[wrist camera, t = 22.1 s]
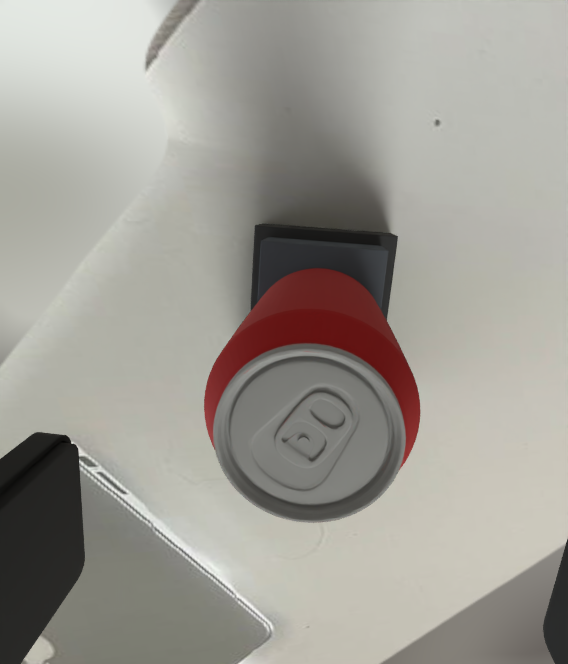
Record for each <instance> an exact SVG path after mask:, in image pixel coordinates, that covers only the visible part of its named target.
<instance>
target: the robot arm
mask: <svg viewBox="0 0 568 664" xmlns="http://www.w3.org/2000/svg"><path fill="white" fill-rule="evenodd" d="M84 561H85V552H84V535H83V519H82V503H81V486H80V470H79V453H78V448H77V446H76V445H75V444H71V441H70V439H69V437H68V436H66V435H59V434H50V433H42V432H36V433H34V434H32V435H31V436H30V437H28V438H27V439H26V440H24V441H23V442H22V443H21V444H19V445H18V446H17V447H15V448H14V449H13V450H11V451H10V452H9V453H8V454H6V455H5V456H4V457H2V458H1V459H0V664H21V662H22V661H23V659H24V658H25V656H26V655H27V653H28V652H29V651H30V649H31V648H32V646H33V645H34V643H35V642H36V640H37V639H38V637H39V636H40V634H41V633H42V631H43V630H44V628H45V627H46V626H47V624H48V623H49V621H50V620H51V618H52V617H53V615H54V614H55V612H56V611H57V609H58V608H59V606H60V605H61V603H62V602H63V601H64V599H65V598H66V596H67V595H68V593H69V592H70V590H71V589H72V587H73V586H74V584H75V583H76V581H77V580H78V578H79V576H80V574H81V572H82V569H83V566H84ZM543 630H544V638H545V642H546V645H547V647H548V650H549V652H550V654H551V656H552V658H553V660H554V662H555V664H568V539H567V543H566V546H565V550H564V553H563V557H562V561H561V564H560V567H559V571H558V574H557V578H556V581H555V585H554V588H553V592H552V595H551V599H550V602H549V606H548V609H547V613H546V616H545V620H544V625H543Z"/></svg>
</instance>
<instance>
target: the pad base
mask: <svg viewBox="0 0 568 664" xmlns="http://www.w3.org/2000/svg"><path fill="white" fill-rule="evenodd" d="M268 237H275V238H288V239H301V240H314V241H327V242H340V243H352V244H365V245H378V246H382V247H384V248H385V249H387V250H388V259H387V267H386V274H385V282H384V290H383V298H382V306H381V311H382V313H383V315H384V317H385V319H386V321H387V314H388V307H389V299H390V292H391V284H392V277H393V269H394V262H395V254H396V247H397V239H398V236H396V235H393V234H391V233H380V232H367V231H354V230H341V229H328V228H315V227H301V226H288V225H275V224H259V225H255V235H254V254H253V273H252V293H251V310H252V309H253V308H254V306H255V305H256V304H257V301H258V283H259V266H260V248H261V241H262V240H264V239H266V238H268Z"/></svg>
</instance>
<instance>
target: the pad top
mask: <svg viewBox="0 0 568 664" xmlns="http://www.w3.org/2000/svg"><path fill="white" fill-rule="evenodd" d="M387 259H388V250H387V249H385V248H384V247H382V246H378V245H365V244H352V243H340V242H327V241H314V240H301V239H288V238H275V237H268V238H266V239H264V240H262V241H261V248H260V266H259V283H258V301H259V300H260V299H261V298H262V296H263V295H264V294H265V293H266V292H267V291H268V289H269V288H270V287H271V286H272V285H274V284H275V283H276V282H277V281H279V280H280V279H282V278H283V277H285V276H287V275H289V274H291V273H294V272H297V271H300V270H305V269H312V268H323V269H330V270H335V271H338V272H341V273H344V274H346V275H348V276H350V277H352V278H354V279H355V280H356V281H358V282H359V283H360V284H362V285H363V286H364V287H365V288H366V289H367V290H368V291H369V293H370V294H371V295H372V296H373V298H374V299H375V301H376V303H377V305H378V306H379V308H380V310H381V306H382V298H383V290H384V282H385V274H386V267H387ZM258 301H257V303H258Z"/></svg>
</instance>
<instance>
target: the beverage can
mask: <svg viewBox="0 0 568 664" xmlns="http://www.w3.org/2000/svg"><path fill="white" fill-rule="evenodd" d="M204 411H205V420H206V426H207V430H208V434H209V437H210V439H211V442H212V445H213V447H214V449H215V451H216V455H217V458H218V461H219V463H220V466H221V468H222V470H223V472H224V474H225V475H226V477H227V478H228V480H229V481H230V483H231V484H232V485H233V486H234V488H235V489H236V490H237V491H238V492H239V493H240V494H241V495H242V496H243V497H244V498H245V499H247V500H248V501H249V502H251V503H252V504H253V505H255V506H256V507H258V508H260V509H262V510H263V511H265V512H267V513H270V514H272V515H274V516H277V517H280V518H283V519H287V520H292V521H297V522H308V523H319V522H328V521H334V520H338V519H342V518H345V517H348V516H351V515H353V514H355V513H357V512H359V511H361V510H363V509H365V508H366V507H368V506H369V505H371V504H372V503H373V502H375V501H376V500H377V499H378V498H379V497H380V496H381V495H382V494H383V493H384V492H385V491H386V490H387V489H388V487H389V486H390V485H391V483H392V482H393V481H394V479H395V477H396V475H397V473H398V471H399V470H400V468H401V467H402V466H403V464H404V463H405V461H406V459H407V458H408V456H409V454H410V452H411V450H412V448H413V445H414V442H415V440H416V437H417V433H418V428H419V422H420V400H419V393H418V389H417V385H416V382H415V379H414V376H413V374H412V372H411V369H410V367H409V365H408V363H407V361H406V359H405V357H404V354H403V352H402V350H401V348H400V346H399V344H398V342H397V340H396V338H395V336H394V334H393V332H392V330H391V328H390V326H389V324H388V322H387V321H386V319H385V317H384V315H383V313H382V311H381V310H380V308H379V306H378V305H377V303H376V301H375V299H374V298H373V296H372V295H371V294H370V293H369V291H368V290H367V289H366V288H365V287H364V286H363V285H362V284H360V283H359V282H358V281H356V280H355V279H354V278H352V277H350V276H348V275H346V274H344V273H341V272H338V271H335V270H330V269H323V268H312V269H305V270H300V271H297V272H294V273H291V274H289V275H287V276H285V277H283V278H282V279H280V280H279V281H277V282H276V283H275V284H274V285H272V286H271V287H270V288H269V289H268V291H267V292H266V293H265V294H264V295H263V296H262V298H261V299H260V300H259V301H258V303H257V304H256V305H255V306H254V308H253V309H252V310H251V312H250V313H249V314H248V316H247V317H246V318H245V320H244V321H243V322H242V324H241V325H240V326H239V328H238V329H237V330H236V332H235V333H234V335H233V336H232V338H231V339H230V340H229V342H228V343H227V345H226V346H225V348H224V349H223V350H222V352H221V353H220V355H219V356H218V358H217V360H216V362H215V363H214V365H213V368H212V370H211V372H210V375H209V378H208V381H207V386H206V390H205V399H204Z"/></svg>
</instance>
